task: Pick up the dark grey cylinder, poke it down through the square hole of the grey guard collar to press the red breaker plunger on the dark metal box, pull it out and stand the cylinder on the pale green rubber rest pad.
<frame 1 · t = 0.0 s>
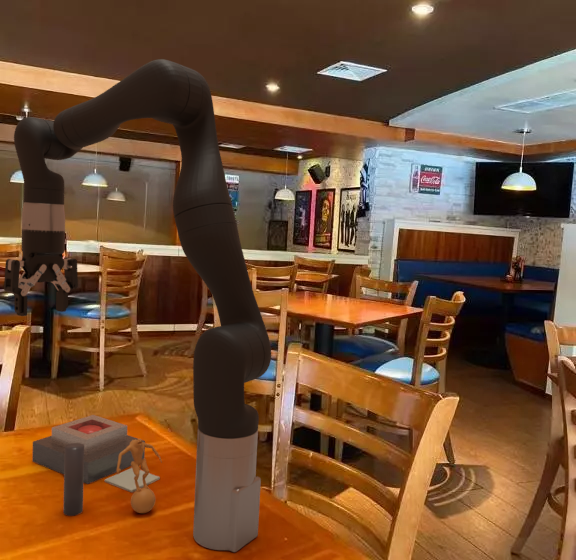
hand: (42, 313, 112), 29 cm above the table, fingers open, 8 cm apart
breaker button: (89, 440, 116), point 4 cm above the table, slide at 0.0 cm
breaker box: (89, 460, 117), on the table
figurine: (139, 510, 99), on the table
dark grey cylinder: (73, 511, 97), on the table
stylus pad: (132, 480, 109), on the table
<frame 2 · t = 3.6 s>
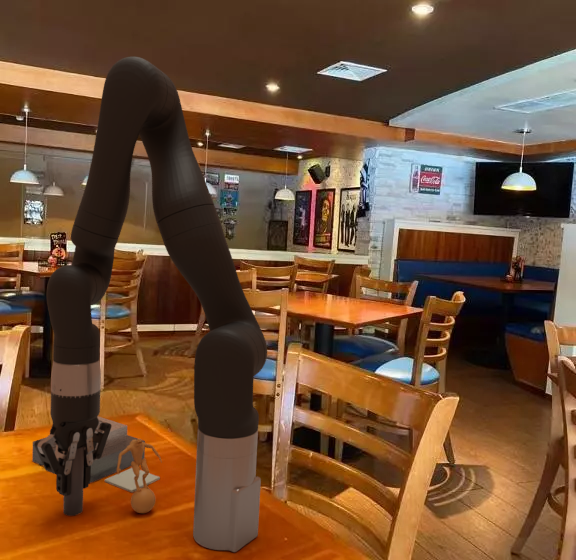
hand: (73, 490, 97), 4 cm above the table, fingers closed on dark grey cylinder, 3 cm apart
dark grey cylinder: (73, 511, 97), on the table, touching gripper
everything else where it was.
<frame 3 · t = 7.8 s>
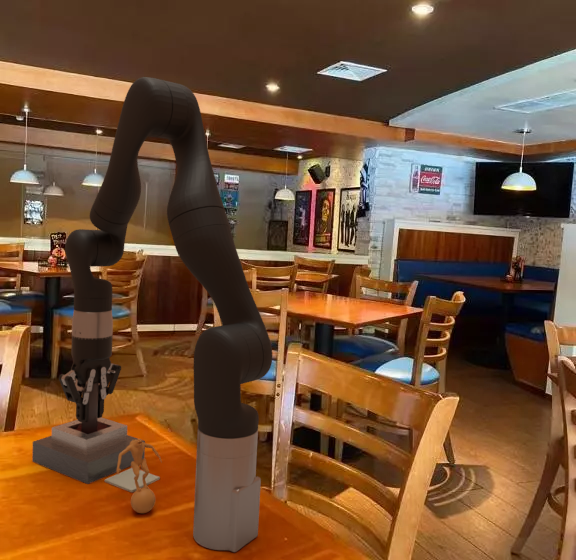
hand: (90, 418, 116), 9 cm above the table, fingers closed on dark grey cylinder, 3 cm apart
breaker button: (89, 447, 117), point 3 cm above the table, slide at 1.6 cm, touching dark grey cylinder
dark grey cylinder: (89, 436, 116), point 5 cm above the table, touching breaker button, gripper
everything else where it was.
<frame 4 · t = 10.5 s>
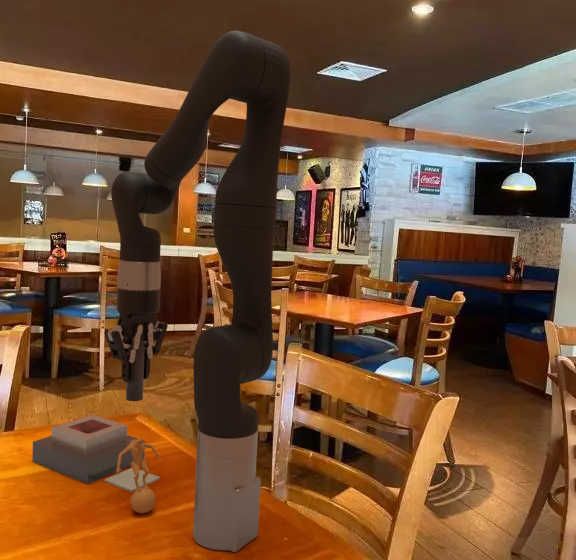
hand: (135, 379, 107), 19 cm above the table, fingers closed on dark grey cylinder, 3 cm apart
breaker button: (89, 447, 117), point 3 cm above the table, slide at 1.6 cm
dark grey cylinder: (134, 398, 108), point 16 cm above the table, touching gripper
everything else where it was.
when the fingers open (5 cm above the table, at t = 12.8 s): dark grey cylinder stays where it is, resting on stylus pad.
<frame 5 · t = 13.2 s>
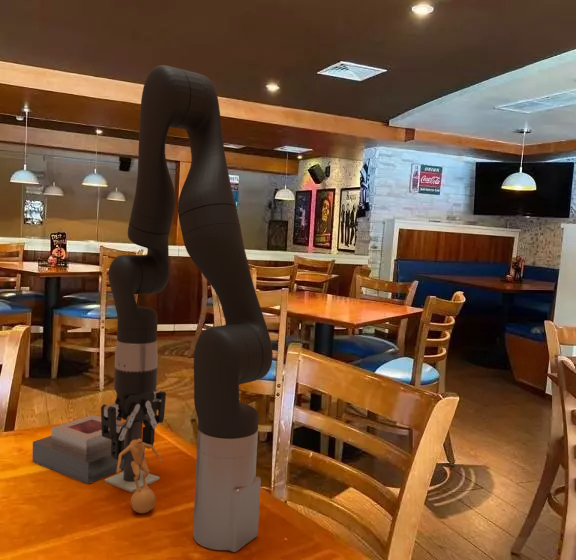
hand: (133, 452, 109), 5 cm above the table, fingers open, 6 cm apart
dark grey cylinder: (131, 478, 109), resting on stylus pad
everything else where it was.
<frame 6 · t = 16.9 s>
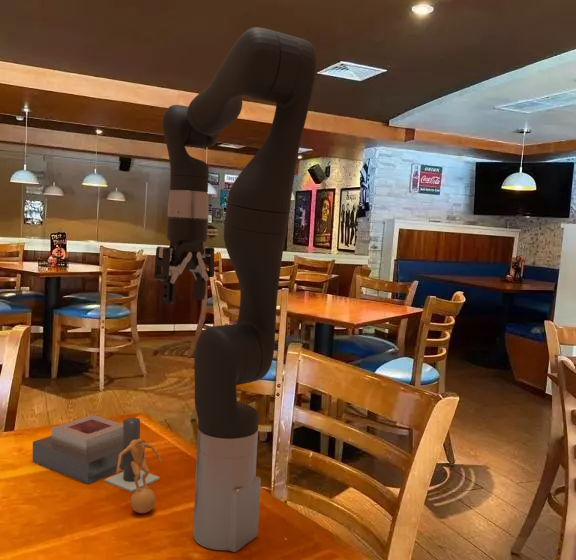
hand: (184, 301, 112), 33 cm above the table, fingers open, 8 cm apart
nothing on the table moved.
at the end: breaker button slide at 1.6 cm; the gripper is holding nothing; dark grey cylinder 0.2 cm from the stylus pad (horizontally) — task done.
